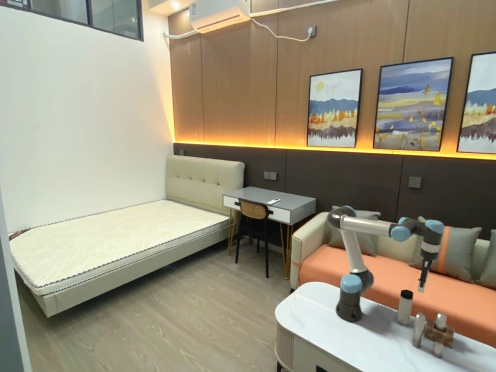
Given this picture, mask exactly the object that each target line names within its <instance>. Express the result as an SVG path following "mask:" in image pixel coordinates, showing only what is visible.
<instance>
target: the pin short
mask: <svg viewBox="0 0 496 372" xmlns="http://www.w3.org/2000/svg"><path fill="white" fill-rule="evenodd" d="M444 347H445V346H444V345H443V344H442V343H440V342H437V341H435V342H434V341H433V346H432V351H431V354H432V356H434V358H437V359H441V358H442V357H443V353H444Z"/></svg>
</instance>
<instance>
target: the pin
mask: <svg viewBox="0 0 496 372" xmlns="http://www.w3.org/2000/svg"><path fill="white" fill-rule="evenodd" d="M447 319H448V316H447V314H446V313H444V312H440V311H439V312H437V316H436V320H435V321H436V326H435V329H437V330H439V331H442V332H444V330H445V325H447V324H446V323H447Z"/></svg>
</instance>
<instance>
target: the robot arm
mask: <svg viewBox="0 0 496 372" xmlns="http://www.w3.org/2000/svg"><path fill="white" fill-rule="evenodd" d="M326 222H327V224H328V225H329V226H330V228H333V229H336V230H338V231H339V232H340V233H341V234H340V235H341V236H342V241H343V244H344V247H345V252H346V255H347V260H348V263H349V267H350V268H349V269H348V272H349V274H346V275H343V276H342V277H341V280H340V288H339V289H340V290H339V298H338V299H339V300H338V302H337V304H336V305H335V313H336V315H337V316H338V317H339V318H340V319H342V320H344V321H346V322H351V323H354V322H355V323H356V322H359V321H360V320H362V316H363V311H362V307H361V296H362V295H364V294H365V292H366V291H368V290H369V289H371V288H372V287H373V286H374V283H375V276H374V274H373V272H371V270H370V269H369V267H368V266H366V265H365V262H364V261H365V260H364V258H363V255H362V251H361V247H360V244H359V240H358V236H357V233H356V232H359V233H360V232H361V233H363V234H364V233H365V234H370V235H376V236H381V237H386V238H390V239H393V241H396V242H397V243H402V242H406V241H407V240H409V239H411V237H412V236H414V235H415V236H418V237H421V238H422V241H421V248H420V251H419V252H420V253H419V255H420V257H422V258H423V259H422V260H421V261H422V262H421V263H422V264H421V272H420V277H419V278H418V279H417V281H418V285H417V292H418V293H421V294H424V292H425V287H426V283H427V281H428V278H429V274H430V271H432V268H431V267H432V263H433V261H436V260H438V257H439V251H440V249H442V246H441V242H442V238H443V233H444V227H445V224H444V223H443V222H441V221H439V220H436V219H434V220H433V219H427V220H426V222H423V221H420V220H416V219H413V218H410V217H404V216H403V217H401V218H399V220H398V223H393V222H386V221H379V220H375V219H373V220H372V219H367V218H360V217H358V214H357V212H356V210H355V209H354V208H353V207H352V206H349V205H343V206H340V207H337V208H334V209H332V210H330V211H329V212H328V214H327V215H326Z"/></svg>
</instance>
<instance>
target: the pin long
mask: <svg viewBox="0 0 496 372" xmlns="http://www.w3.org/2000/svg"><path fill="white" fill-rule="evenodd" d="M414 319H415V320H414V327H413V334H412V339H411V346H412V347H414V348H416V349H421V348H422V341H423V337H424V331H425V323H426V315H425V314H424V313H422V312H416V313H415V318H414Z"/></svg>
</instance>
